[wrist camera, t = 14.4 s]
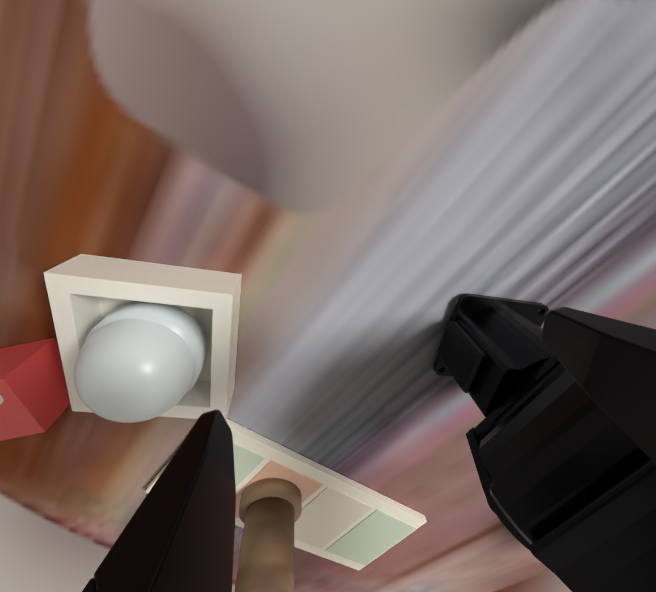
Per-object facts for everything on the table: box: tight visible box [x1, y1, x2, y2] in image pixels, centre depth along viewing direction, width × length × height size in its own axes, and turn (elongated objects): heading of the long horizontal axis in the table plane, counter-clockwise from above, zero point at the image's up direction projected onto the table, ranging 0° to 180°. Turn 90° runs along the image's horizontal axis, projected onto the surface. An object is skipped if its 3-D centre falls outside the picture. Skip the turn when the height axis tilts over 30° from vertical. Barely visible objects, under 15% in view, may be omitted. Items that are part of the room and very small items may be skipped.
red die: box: [0, 338, 70, 441], centre depth 19 cm, size 4×4×4 cm
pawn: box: [235, 478, 302, 592], centre depth 22 cm, size 5×5×13 cm
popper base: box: [44, 254, 242, 420], centre depth 19 cm, size 9×9×3 cm
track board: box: [145, 419, 427, 570], centre depth 29 cm, size 24×10×1 cm, turn 50°
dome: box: [73, 301, 208, 423], centre depth 17 cm, size 6×6×6 cm
